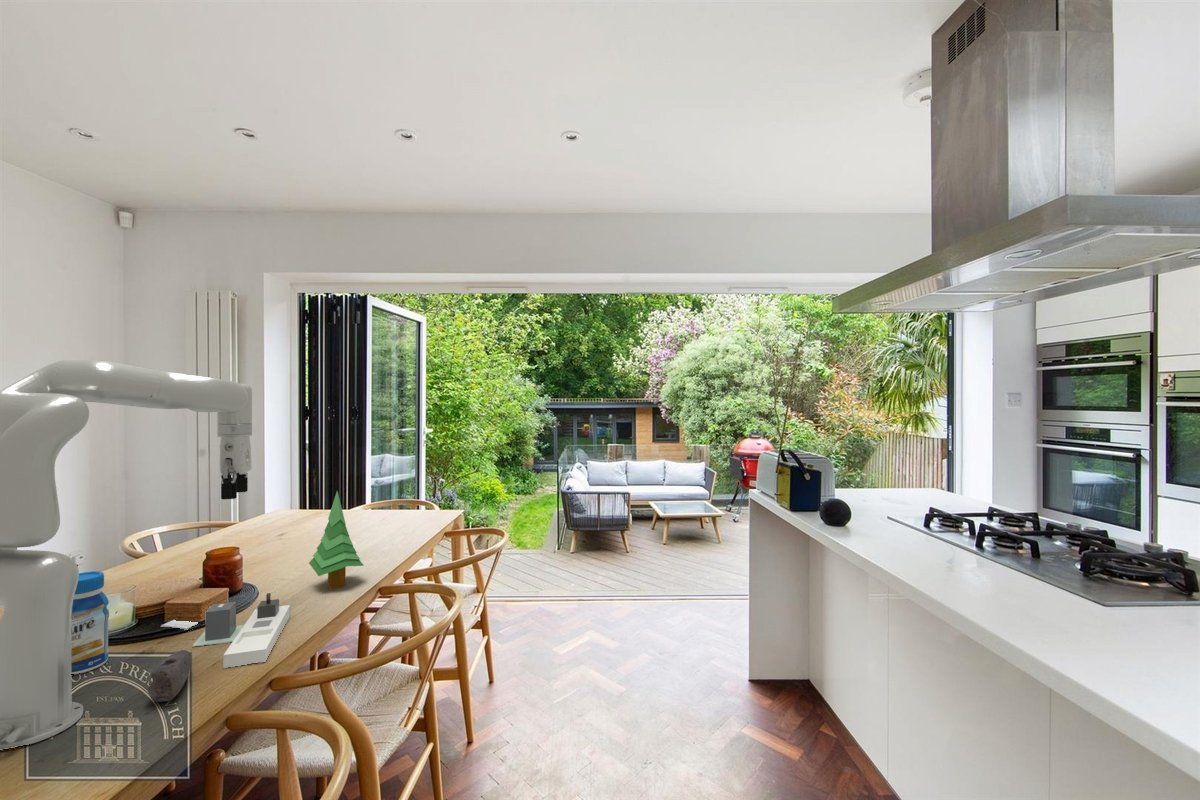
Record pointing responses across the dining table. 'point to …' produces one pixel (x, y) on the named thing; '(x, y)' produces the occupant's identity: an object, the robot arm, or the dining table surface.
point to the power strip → (258, 634)
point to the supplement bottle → (89, 623)
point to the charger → (220, 621)
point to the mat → (202, 641)
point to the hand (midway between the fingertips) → (234, 495)
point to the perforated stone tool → (170, 676)
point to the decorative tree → (335, 549)
